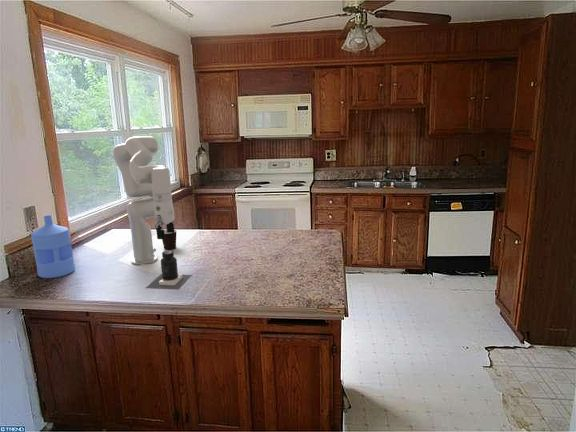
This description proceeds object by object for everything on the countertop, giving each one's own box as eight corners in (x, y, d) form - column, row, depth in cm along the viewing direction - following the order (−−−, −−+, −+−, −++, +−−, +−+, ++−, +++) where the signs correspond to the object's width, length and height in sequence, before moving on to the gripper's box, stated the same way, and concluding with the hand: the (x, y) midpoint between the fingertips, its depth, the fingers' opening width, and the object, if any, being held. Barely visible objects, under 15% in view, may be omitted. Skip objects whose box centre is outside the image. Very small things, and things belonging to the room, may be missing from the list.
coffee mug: (173, 251, 218) (172, 233, 216) (159, 250, 220) (157, 233, 217) (182, 244, 230) (181, 228, 227) (168, 244, 231) (167, 227, 229)
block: (167, 273, 180) (182, 274, 179) (168, 277, 180) (182, 277, 180) (159, 281, 171) (174, 282, 171) (159, 285, 172) (174, 285, 171)
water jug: (35, 272, 191) (25, 216, 185) (71, 264, 201) (62, 210, 194) (41, 281, 180) (30, 222, 173) (78, 272, 189) (70, 216, 183)
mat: (161, 275, 185) (161, 273, 184) (192, 276, 183) (192, 274, 183) (145, 289, 169) (145, 288, 169) (178, 290, 167) (178, 289, 167)
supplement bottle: (181, 277, 176) (179, 251, 173) (167, 282, 171) (165, 255, 168) (172, 273, 180) (170, 248, 177) (159, 278, 175) (156, 252, 172)
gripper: (162, 201, 158) (165, 242, 162) (179, 193, 174) (182, 230, 179) (144, 200, 159) (148, 241, 163) (162, 192, 175) (166, 229, 180)
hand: (166, 235), depth 171 cm, fingers open, 9 cm apart
